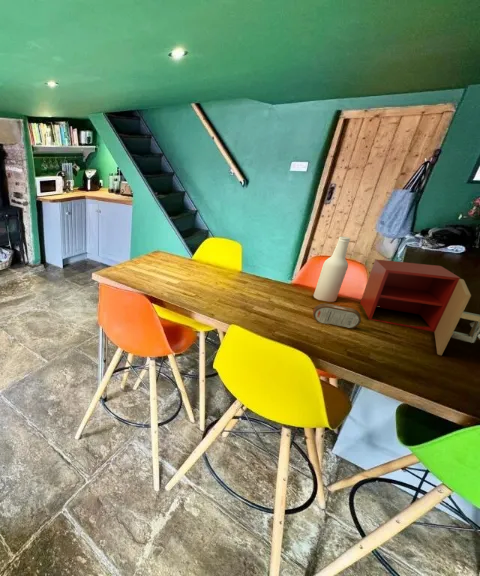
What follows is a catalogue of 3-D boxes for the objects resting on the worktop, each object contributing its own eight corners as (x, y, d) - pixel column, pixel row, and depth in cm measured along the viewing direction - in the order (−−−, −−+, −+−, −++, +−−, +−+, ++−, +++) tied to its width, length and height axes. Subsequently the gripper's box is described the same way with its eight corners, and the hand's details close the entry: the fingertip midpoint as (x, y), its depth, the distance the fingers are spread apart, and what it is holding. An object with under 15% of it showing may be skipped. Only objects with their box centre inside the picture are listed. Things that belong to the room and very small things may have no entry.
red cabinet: (435, 332, 114) (460, 278, 106) (367, 320, 123) (386, 269, 115) (419, 315, 127) (440, 265, 119) (359, 306, 136) (375, 259, 128)
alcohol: (310, 299, 143) (330, 237, 132) (315, 294, 148) (335, 234, 137) (332, 305, 137) (355, 240, 125) (337, 300, 142) (359, 237, 131)
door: (459, 338, 109) (487, 283, 101) (466, 362, 96) (499, 300, 88) (434, 332, 114) (459, 278, 106) (437, 354, 100) (466, 294, 92)
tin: (355, 329, 117) (363, 309, 114) (357, 332, 115) (365, 312, 111) (310, 319, 124) (316, 300, 121) (310, 322, 122) (316, 303, 118)
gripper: (520, 292, 93) (459, 312, 103) (549, 316, 79) (475, 336, 88) (536, 309, 92) (473, 327, 102) (569, 336, 78) (492, 354, 87)
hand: (474, 331), depth 95 cm, fingers open, 7 cm apart
